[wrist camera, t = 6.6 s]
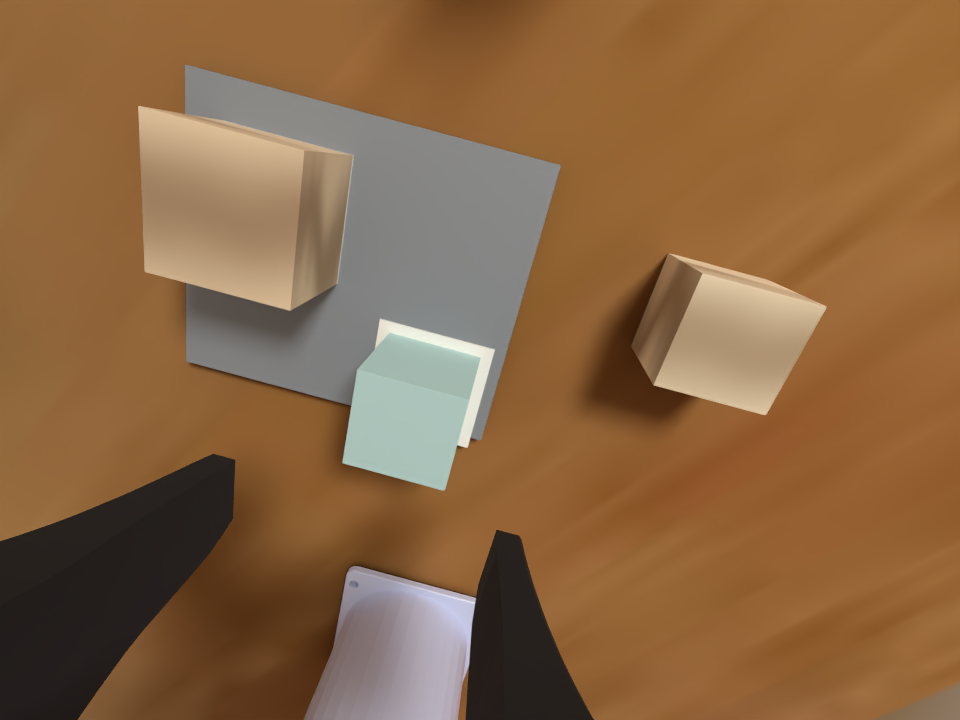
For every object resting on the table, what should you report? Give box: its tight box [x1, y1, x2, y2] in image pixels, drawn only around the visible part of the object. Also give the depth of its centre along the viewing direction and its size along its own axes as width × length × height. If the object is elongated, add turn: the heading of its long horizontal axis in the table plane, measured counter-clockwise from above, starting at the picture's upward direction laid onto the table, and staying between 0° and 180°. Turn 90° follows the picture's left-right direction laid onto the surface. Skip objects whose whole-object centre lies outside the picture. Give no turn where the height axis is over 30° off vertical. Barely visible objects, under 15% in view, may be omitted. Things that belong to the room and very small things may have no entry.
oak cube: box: [138, 106, 353, 311], centre depth 16 cm, size 5×5×4 cm
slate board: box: [185, 65, 561, 448], centre depth 19 cm, size 12×14×1 cm
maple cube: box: [631, 253, 826, 415], centre depth 17 cm, size 4×4×4 cm
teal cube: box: [342, 333, 481, 491], centre depth 19 cm, size 4×4×4 cm
